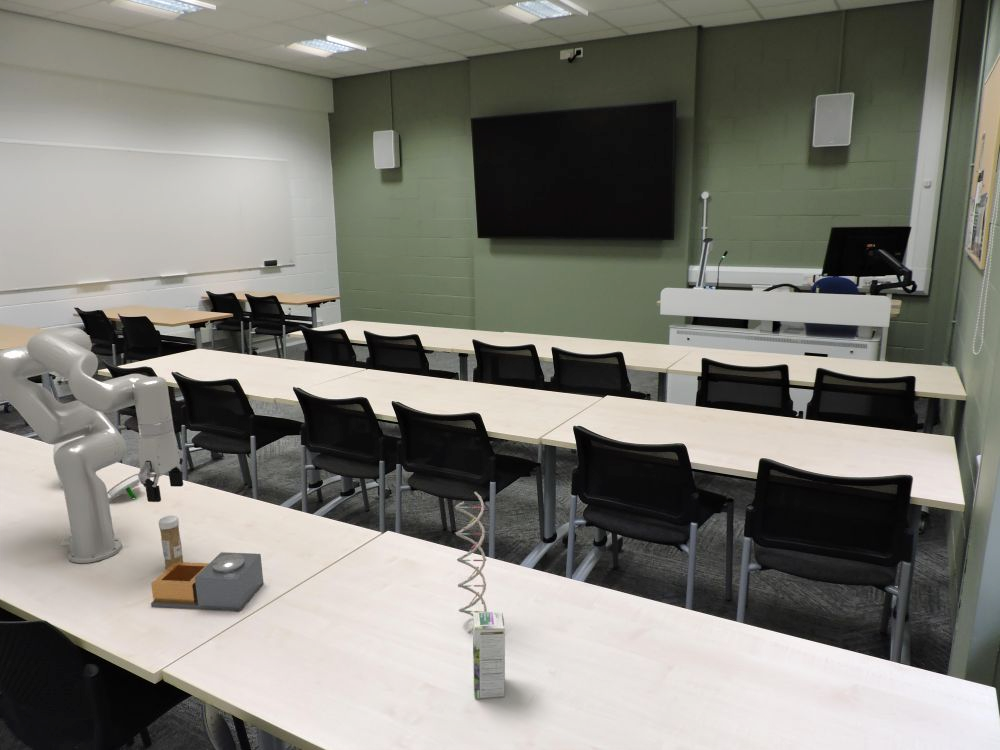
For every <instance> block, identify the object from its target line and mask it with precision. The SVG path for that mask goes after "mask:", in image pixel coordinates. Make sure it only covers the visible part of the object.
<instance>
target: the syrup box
mask: <svg viewBox="0 0 1000 750" xmlns="http://www.w3.org/2000/svg"><path fill="white" fill-rule="evenodd" d="M472 614H473V616H472V617H473V618H472V624H473V625H472V628H473V631H472V659H473V660H472V663H473V666H472V667H473V692H474V693H473V694H474V699H476V700H478V699H479V700H480V699H491V698H492V699H493V698H502V697H503V698H505V697H506V670H505V669H506V639H505V638H506V637H505V635H506V630H505V618H504V613H503V612H502V611H487V612H478V613H475V612H473V613H472Z"/></svg>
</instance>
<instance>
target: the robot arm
mask: <svg viewBox="0 0 1000 750" xmlns="http://www.w3.org/2000/svg"><path fill="white" fill-rule="evenodd" d="M92 345H93V344H92V341H91V338H90V336H89V334H87V332H86V331H84V330H82V329H80V328H77V327H71V326H70V327H63V328H57V329H52V330H46V331H42V332H38V333H36V334H35V335H33V336H32V337H30V338H29V339H28V342H27V344H22V345H16V346H10V347H8V348H4V349H1V350H0V396H1V397H2V399H4V400H5V401H7V402H8V403H9V404H10V405H11V406H12V407H14V409H16V410H17V412H18V413H19V415H21V417H22V418H23V419H24V420H25V422H26V423H27V424H28V426H30V428H31V429H32V430H33V431H34V433H35V434H36V436H38V437H39V439H41V440H42V441H43V442H44V443H46V444H48V445H54V444H58V443H62V442H65V441H68V440H71V439H74V438H77V437H80V436H84V437H81V438H78V439H75V440H73V441H70V442H68V443H66V444H64V445H62V446H61V447H60V448H59V449H58V450H57V451H56V453H55V455H54V458H53V464H54V467H55V470H56V469H57V471H56V473H57V472H58V474H59V476H60V479H61V482H62V485H63V488H62V489H63V493H64V499H65V503H66V504H65V505H66V511H67V516H68V522H69V527H70V533H71V534H70V535H69V534H68V535H64V536H63V538H62V541H61V544H60V545H61V547H69V549H70V550H69V551H68V553H67V557H68V560H69V561H70V562H72V563H75V564H76V563H77V564H89V563H94V562H99V561H102V560H105V559H108V558H110V557H112V556H115V555H116V554H117V553H118V552H120V551H121V549H122V548H123V542H122V541H121V540H120V539H118V538H116V537H115V533H114V527H113V521H112V520H113V519H112V515H111V514H112V513H111V508H110V502H109V500H108V494H107V492H108V490H107V489H108V488H107V485H106V484H105V482H104V481H103V480H102V478H100V477H99V476H98V475H97V473H96V472H99V471H100V470H102V469H104V468H107V467H109V466H112V465H113V464H116V463H119V462H120V461H122V460H123V459H124V458H125V456H126V454H127V451H128V450H127V449H128V448H127V447H128V446H127V443H126V441H125V439H124V437H123V435H122V434H121V433H120V431H119V430H118V429H117V428H116V426H115V425H113V423H112V422H111V421H110V420H109V418H108V417H107V416H106V415H105V413H107V414H108V413H113V412H116V411H120V410H123V409H125V408H126V409H127V408H129V407H132V406H135V413H136V418H137V424H138V426H137V427H138V432H139V436H140V437H139V438H138V459H139V462H138V463H139V472H138V473H137V474H138V477H139V479H140V481H141V484H142V485H143V487H144V488H145V492H146V493H145V494H146V499H147V502H149V503H159V502H160V503H161V501H162V496H161V489H160V485H158V483H159V479H160V477H162V476H163V475H165V474H167V473H168V477H169V478H168V479H169V484H170V487H179V488H180V487H183V486H184V481H183V480H184V479H183V474H182V473H183V472H182V470H183V463H184V462H183V461H184V460H183V457H184V450H183V449H179V444H178V441H177V436H176V433H175V429H174V421H173V414H172V407H171V401H170V395H169V394H170V393H169V388H168V387H169V386H168V381H167V380H166V379H165V378H164V377H162V376H148V375H144V374H141V373H131V374H127V375H124V376H118V377H114V378H111V379H107V380H104V381H100V380H97V379H95V378H93V376H94V375H95V374H96V372H97V370H98V368H99V367H98V365H99V359H98V357H97V355H96V354H95V353H94V352H93V351H91V350H92ZM49 373H55V374H58V375H59V376H61V377H63V378H65V379H66V380H67V383H68V388H69V389H70V393H71V394H72V395H73V397H74V398H75V399H76V400H73V401H70V402H67V403H61V402H60V401H58V400H57V399H56V397H55V396H54V395H53V393H51V391H49V390H48V389H47V388H46V387H44V386H43V385H40V384H39V383H36V382H33V381H31V380H30V379H28V378H32V377H37V376H40V375H41V376H42V375H44V374H45V375H46V374H49ZM151 478H153V480H152V479H151Z"/></svg>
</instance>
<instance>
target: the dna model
mask: <svg viewBox="0 0 1000 750" xmlns="http://www.w3.org/2000/svg"><path fill="white" fill-rule="evenodd" d="M474 495H475V496H476V497H477V498H478V500H479V502H480V505H481V506H472V507H471V508H472V509H480V512H479V514H478V516H477V517H476V516H475V515H473V514H471V513H470V512H469V511H466V510H465V509H470V506H463V505H465V501H462V502H460V503H458V504H456V505H455V506H454V508H455V510H456V511H459V512H460V513H463V514H465V515H467V516H469V517H470V518H471V521H470V522H469V523H468V524H467V525H466V526H463V527H462V528H461V529H460V530H458V531H457V532H454V533H455V535H456V536H457V537H459V538H462V539H463V540H466V541H468V542H470V543H472V544H473V546H472V547H470V548H471V549H470V550H469V551H468V552H467V553H466V554H463V555H461V556H460V557H458V558H457V559H456V561H457V562H458V563H461V564H463V565H466V566H468V567H471V568H472V569H474V571H473V572H472V574H471V575H470V576H469V577H468V578H467V579H466V580H464V581H462V582H460V583H458V584H457V587H458V588H461V589H464V590H467V591H468V592H471V593H473V594H475V596H474V597H473V598H472V600H471V601H470V602H469V604H468V605H466V606H464V607H461V608H459V609H458V611H459V612H461V613H464V614H466V615H470V616H471V617H473V614H474V613H478V612H488V611H487V604H486V601H485V600H484V598H483V595H484V594H485V592H486V589H487V582H486V579H485V576H484V574H483V572H482V571H483V569H484V567H485V565H486V561H487V560H488V559H487V558H486V555H485V551H484V550H483V548H482V547H481V546H482V545H483V542H484V538H485V534H486V531H485V527H484V526H483V524H482V522H481V521H480V519H481V518H482V516H483V514H484V509H485V507H486V505H485V503H484V501H483V499H482V498H483V497H482V496H481V495H480V494H478V492H477V491H474ZM476 523H477V524H478V526H479V529H481V532H482V533H479V532H478V533H466V532H465V531H467V530H469V529H470V528H471V527H473V526H474V525H475V524H476ZM463 532H465V533H463ZM468 535H472V536H475V535H476V536H477V535H478V536H479V535H480V539H479V541H475V540H473V539H472V538H470V537H468ZM477 550H478V551H479V552H480V554H481V557H482V559H472V561H473V562H482V564H481V566H475V565H473V564H472V563H470V562H471V559H465V558H467V557H469V556H470V555H473V553H475V552H476V551H477ZM479 567H480V568H479ZM479 575H480V576H479ZM478 576H479V577H481V578H482V583H483V584H481V585H480V584H477V585H470V584H469V585H468V584H467V583H469V582H471V581H473V580H474V579H475V578H477V577H478ZM466 584H467V585H466ZM472 586H473V587H481V588H482V591H481V593H480V591H478V592H477V591H476V590H474V589H473V588H471V587H472ZM477 597H478V598H477ZM480 600H481V604H482V605H483V609H484V610H467V609H469V608H471V607H473V606H475V605H477V603H478V602H479V601H480ZM467 633H468V634H470V633H473V627H472V628H471V629H469V630H468V631H467Z"/></svg>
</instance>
